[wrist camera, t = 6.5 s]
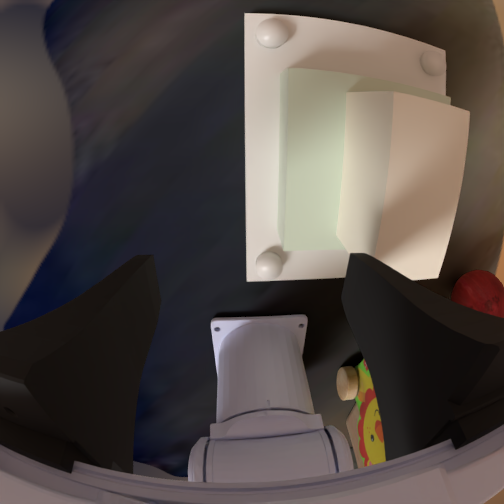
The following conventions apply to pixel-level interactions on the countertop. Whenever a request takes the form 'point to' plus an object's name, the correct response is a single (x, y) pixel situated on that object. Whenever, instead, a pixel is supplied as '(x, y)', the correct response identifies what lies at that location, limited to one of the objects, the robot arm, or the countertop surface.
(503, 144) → the countertop surface
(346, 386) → the toy lion
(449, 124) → the cream brick
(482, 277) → the onion
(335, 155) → the white studded slab
